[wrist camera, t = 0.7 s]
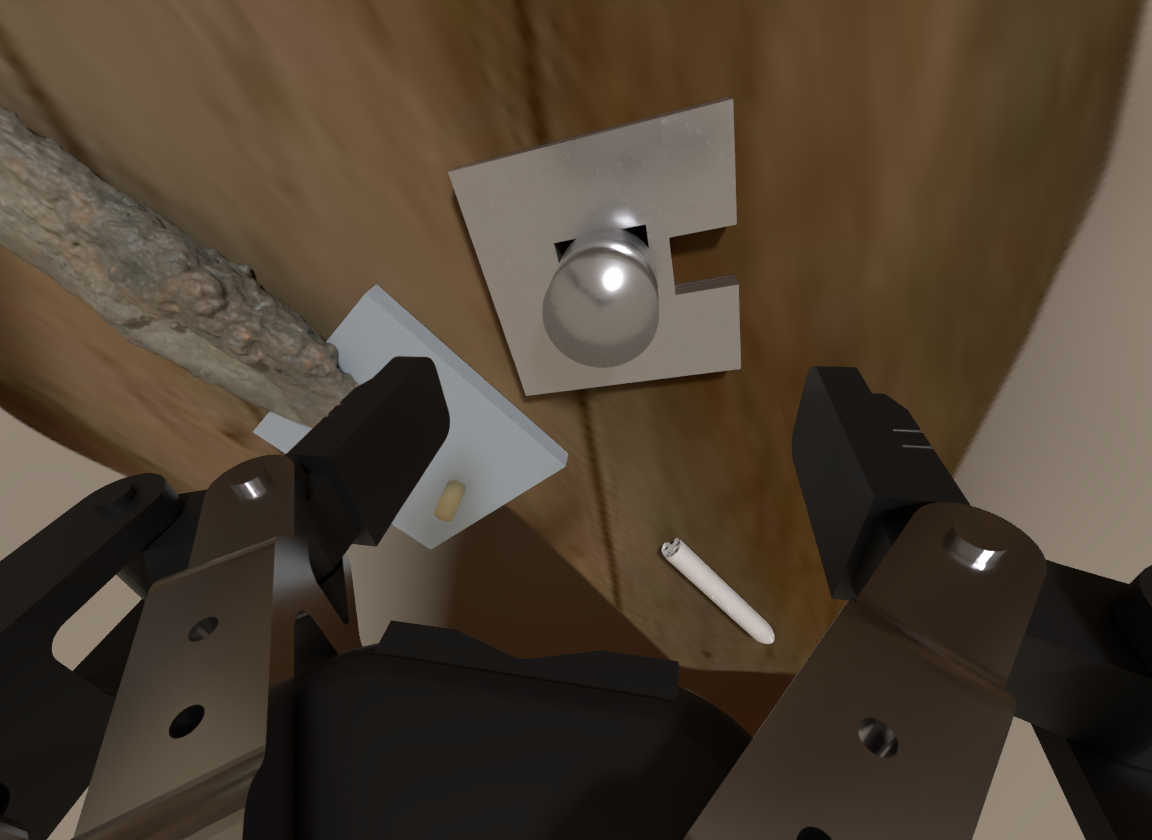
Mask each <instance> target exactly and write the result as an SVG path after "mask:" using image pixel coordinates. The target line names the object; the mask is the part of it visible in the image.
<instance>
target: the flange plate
mask: <svg viewBox="0 0 1152 840" xmlns="http://www.w3.org/2000/svg"><path fill="white" fill-rule="evenodd" d="M448 174H449V176H450V179H451V182H452V185H453V188H454V191H455V194H456V196H457V199H458V202H459V205H460V208H461V211H462V214H463V217H464V219H465V222H466V225H467V228H468V231H469V234H470V237H471V239H472V242H473V245H474V248H475V251H476V254H477V257H478V260H479V262H480V265H481V268H482V271H483V274H484V277H485V280H486V282H487V285H488V288H489V291H490V294H491V297H492V300H493V302H494V305H495V308H496V311H497V314H498V317H499V320H500V323H501V325H502V328H503V331H504V334H505V337H506V340H507V343H508V345H509V348H510V351H511V354H512V357H513V360H514V363H515V366H516V368H517V371H518V374H519V377H520V380H521V383H522V386H523V388H524V391H525V394H526V396H530V395H537V394H545V393H553V392H561V391H569V390H577V389H585V388H593V387H601V386H609V385H617V384H624V383H632V382H640V381H648V380H656V379H664V378H672V377H680V376H688V375H696V374H704V373H711V372H719V371H727V370H735V369H741V353H740V319H739V285H738V282H737V280H736V277H735V275H734V274H732V275H727V276H721V277H715V278H709V279H703V280H698V281H692V282H686V283H680V284H674V278H673V269H672V260H671V251H670V242H669V238H670V237H675V236H680V235H685V234H690V233H695V232H700V231H706V230H711V229H716V228H721V227H726V226H731V225H736V224H737V216H736V181H735V147H734V112H733V99H732V98H730V97H726V98H722V99H718V100H714V101H710V102H706V103H702V104H698V105H695V106H691V107H687V108H683V109H679V110H675V111H671V112H668V113H664V114H660V115H656V116H652V117H648V118H644V119H640V120H637V121H633V122H629V123H625V124H621V125H617V126H613V127H610V128H606V129H602V130H598V131H594V132H590V133H586V134H582V135H579V136H575V137H571V138H567V139H563V140H559V141H555V142H552V143H548V144H544V145H540V146H536V147H532V148H528V149H524V150H521V151H517V152H513V153H509V154H505V155H501V156H497V157H493V158H490V159H486V160H482V161H478V162H474V163H470V164H466V165H463V166H459V167H457V168H455V169H453V170H451V171H449V172H448ZM645 224H646V230H647V238H648V245H649V248H648V246H647V245H646V244H645V243H644V242H643V241H642V240H641V239H640V238H638V237H637V236H636V235H634V234H632V233H630V232H628V231H626V230H623V229H625V228H630V227H635V226H640V225H645ZM572 239H575V240H574V241H573V242H572V243H571V244H570V245H569V246H568V248H567V249H566V251H565V252H564V254H563V252H562V247H561V243H560V242H562V241H567V240H572Z"/></svg>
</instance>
